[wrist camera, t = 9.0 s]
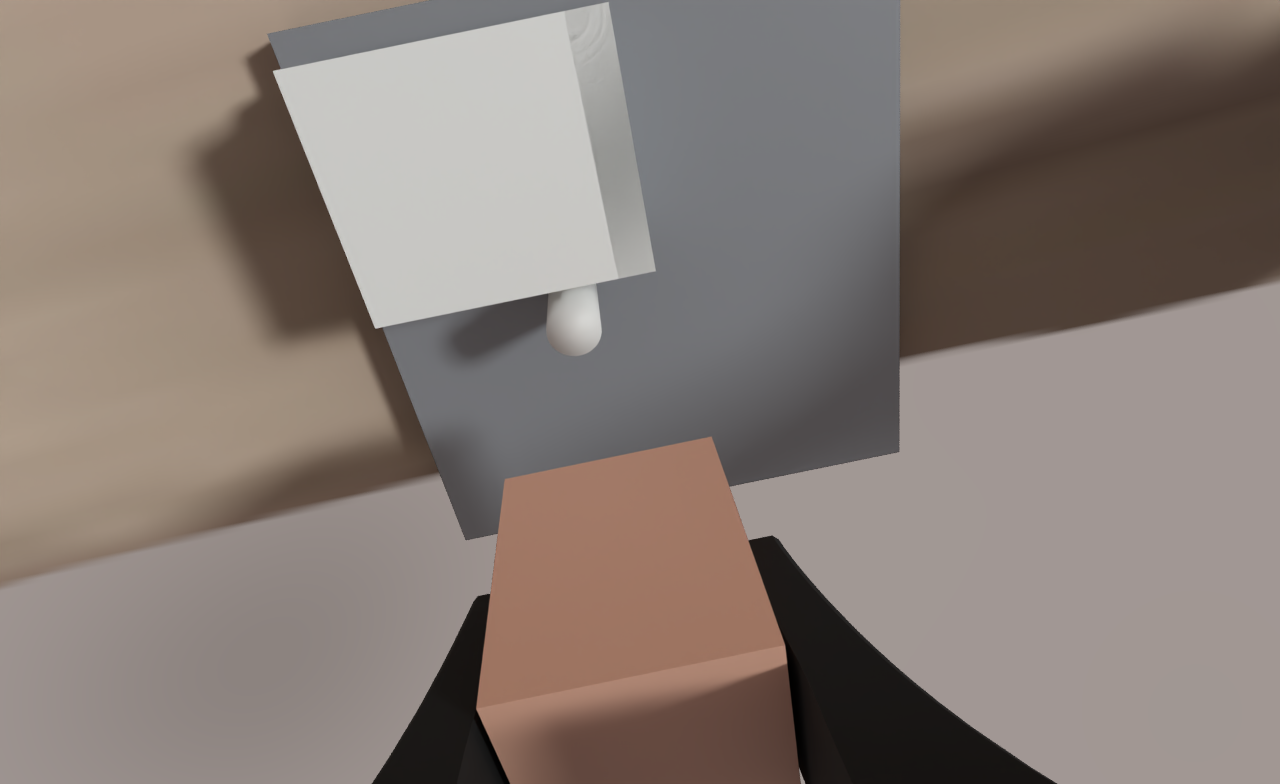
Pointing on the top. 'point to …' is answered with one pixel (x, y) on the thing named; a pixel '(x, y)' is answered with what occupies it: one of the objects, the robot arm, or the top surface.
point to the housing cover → (476, 164)
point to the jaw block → (633, 630)
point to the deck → (688, 255)
